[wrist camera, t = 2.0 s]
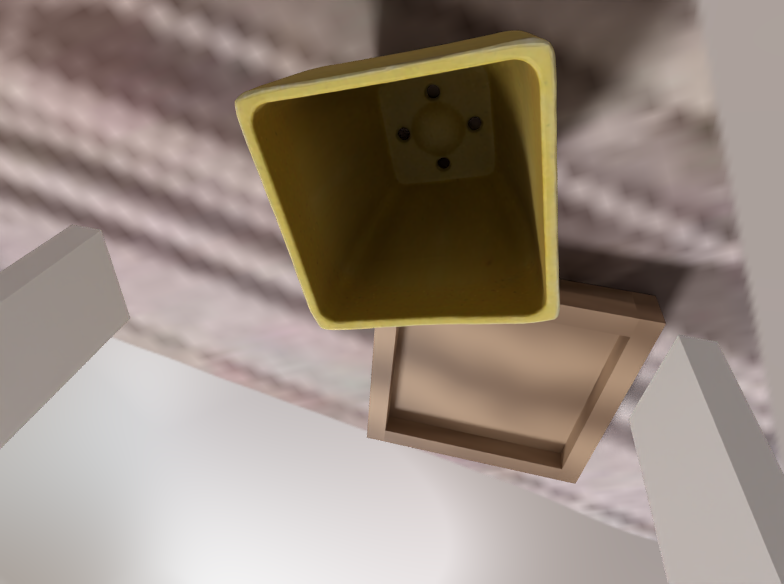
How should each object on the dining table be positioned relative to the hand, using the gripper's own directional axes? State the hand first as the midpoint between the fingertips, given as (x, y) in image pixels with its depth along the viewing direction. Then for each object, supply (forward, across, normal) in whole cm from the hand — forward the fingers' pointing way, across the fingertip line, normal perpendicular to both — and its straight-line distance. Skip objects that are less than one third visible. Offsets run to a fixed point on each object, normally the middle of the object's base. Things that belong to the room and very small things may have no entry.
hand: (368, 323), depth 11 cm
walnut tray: (+14, +5, -14) cm, 20 cm away
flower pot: (+14, 0, 0) cm, 14 cm away
